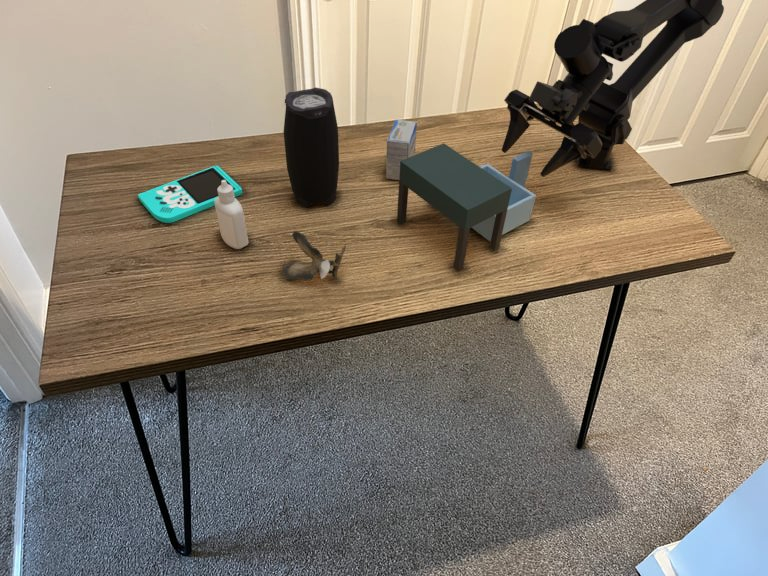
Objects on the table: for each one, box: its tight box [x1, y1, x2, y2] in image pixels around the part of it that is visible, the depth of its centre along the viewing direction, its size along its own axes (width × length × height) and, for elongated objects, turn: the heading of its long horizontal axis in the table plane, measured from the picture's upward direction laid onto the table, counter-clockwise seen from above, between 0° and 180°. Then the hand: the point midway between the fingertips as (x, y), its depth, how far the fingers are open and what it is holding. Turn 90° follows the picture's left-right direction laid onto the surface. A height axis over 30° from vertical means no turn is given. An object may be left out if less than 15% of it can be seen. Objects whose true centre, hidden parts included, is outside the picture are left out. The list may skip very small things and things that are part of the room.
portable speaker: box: [283, 87, 340, 208], centre depth 103 cm, size 9×9×20 cm
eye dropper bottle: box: [214, 180, 250, 250], centre depth 97 cm, size 4×6×12 cm
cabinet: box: [396, 143, 512, 272], centre depth 99 cm, size 10×16×12 cm, turn 38°
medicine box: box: [385, 119, 418, 181], centre depth 114 cm, size 8×4×9 cm, turn 168°
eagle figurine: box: [283, 230, 347, 281], centre depth 94 cm, size 8×7×9 cm
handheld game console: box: [137, 165, 244, 224], centre depth 109 cm, size 10×16×1 cm, turn 129°
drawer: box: [470, 150, 537, 242], centre depth 105 cm, size 14×12×10 cm
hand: (521, 163), depth 105 cm, fingers open, 9 cm apart
